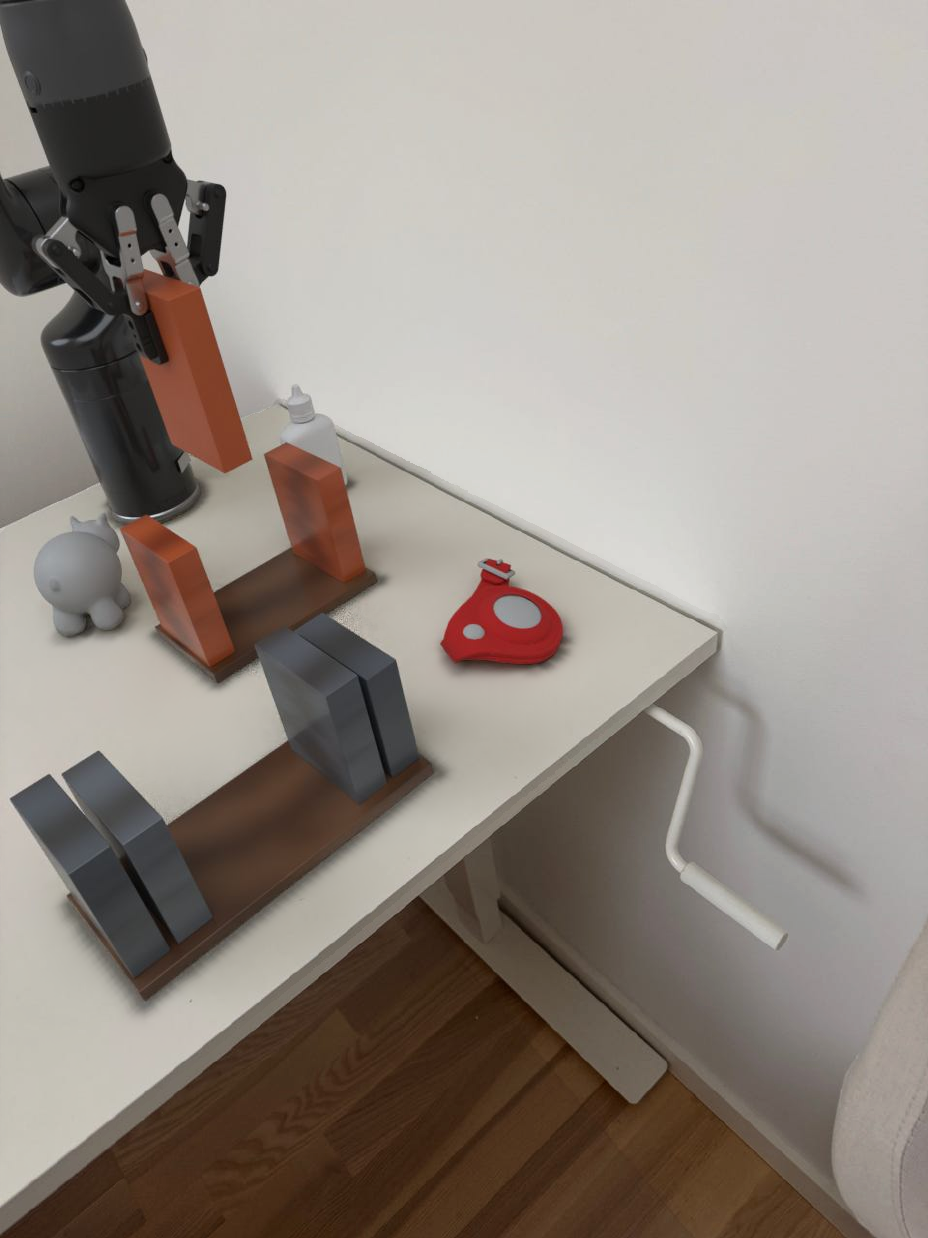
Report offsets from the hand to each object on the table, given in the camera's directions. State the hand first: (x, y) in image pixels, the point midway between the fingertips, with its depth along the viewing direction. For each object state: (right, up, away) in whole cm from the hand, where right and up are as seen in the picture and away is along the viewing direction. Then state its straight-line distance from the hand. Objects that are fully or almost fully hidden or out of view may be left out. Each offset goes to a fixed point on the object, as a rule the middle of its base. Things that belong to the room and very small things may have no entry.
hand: (177, 352), depth 68 cm
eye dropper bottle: (+6, -6, +31) cm, 32 cm away
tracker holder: (+24, -20, +10) cm, 33 cm away
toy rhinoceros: (-13, -17, +21) cm, 30 cm away
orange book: (+1, -6, +5) cm, 8 cm away
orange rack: (+3, -18, +17) cm, 25 cm away
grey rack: (+7, -34, -4) cm, 34 cm away
